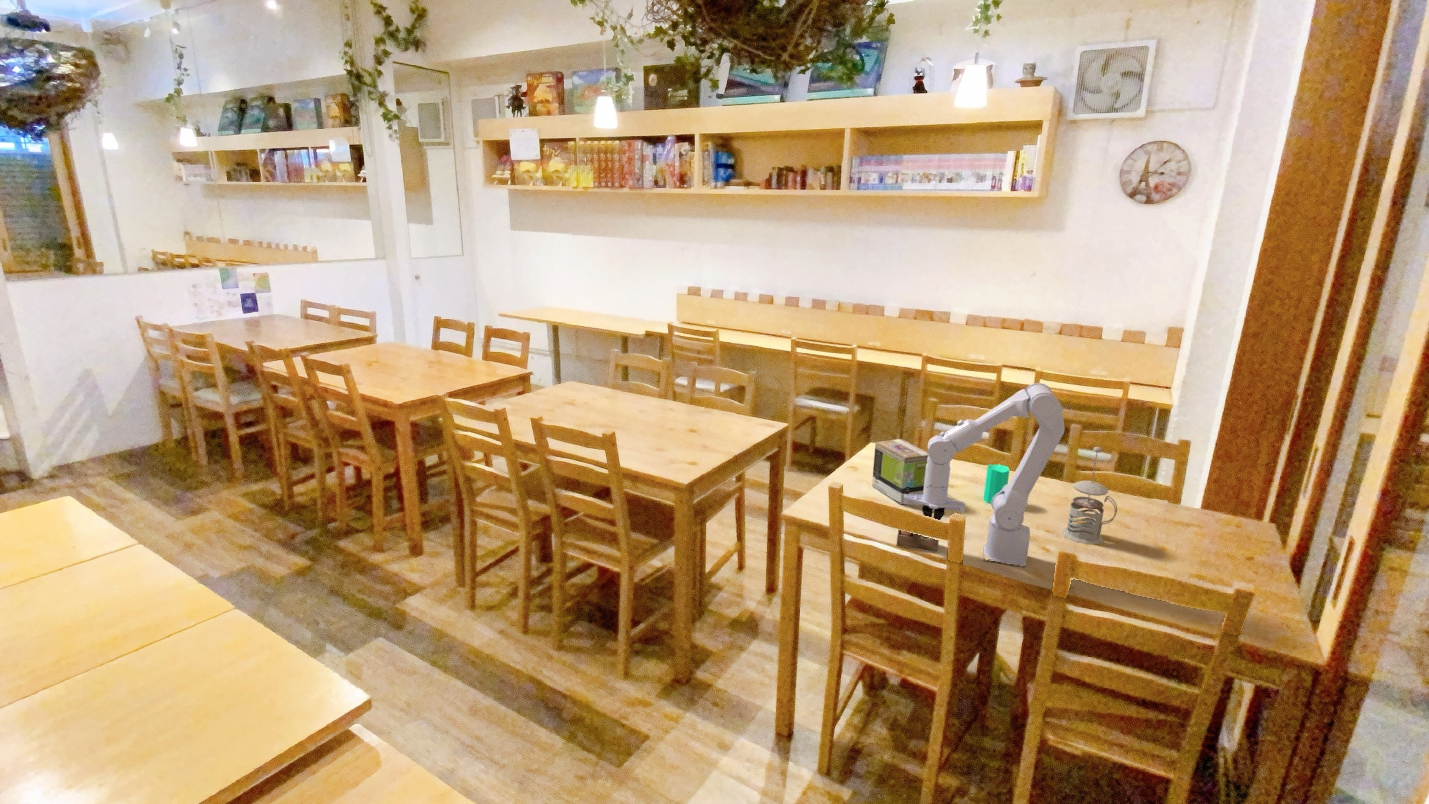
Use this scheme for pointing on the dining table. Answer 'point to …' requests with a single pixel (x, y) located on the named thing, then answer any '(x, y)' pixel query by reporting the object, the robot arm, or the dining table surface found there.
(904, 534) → the terracotta plug
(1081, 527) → the french press
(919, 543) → the plug block
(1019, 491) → the robot arm
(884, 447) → the tea box
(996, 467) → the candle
